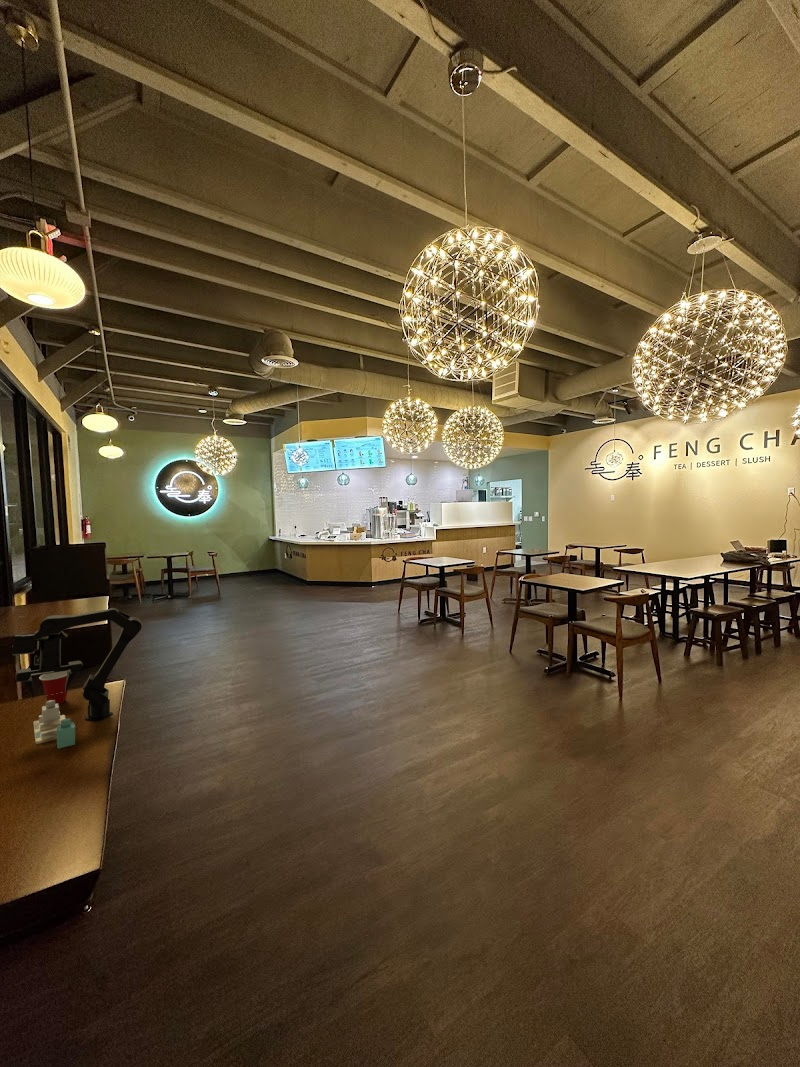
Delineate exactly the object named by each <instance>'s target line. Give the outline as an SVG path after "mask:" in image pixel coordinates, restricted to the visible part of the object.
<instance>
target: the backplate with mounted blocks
mask: <svg viewBox="0 0 800 1067" xmlns="http://www.w3.org/2000/svg"><path fill="white" fill-rule="evenodd" d="M64 719H67V718H66V715H65V714H62V715H61V712H60V710H59V719H58V720H54V721H49V722H45V723H42V714H40V715H38V719H37V720H34V721H32V724H33V732H34V740H35V741H34V742H35V745H39V744H43V743H46V742H47V743H48V742H52V741H57V726H58V725H61V721H62V720H64Z"/></svg>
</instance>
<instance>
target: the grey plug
mask: <svg viewBox="0 0 800 1067" xmlns="http://www.w3.org/2000/svg"><path fill="white" fill-rule="evenodd" d="M59 711H60V706H59V704H58V703H57V704H55V700H49V701H47V700H46V702H45V705H43V706H41V715H42V723H45V722H49V721H54V720H58V719H59Z"/></svg>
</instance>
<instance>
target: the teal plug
mask: <svg viewBox="0 0 800 1067" xmlns="http://www.w3.org/2000/svg"><path fill="white" fill-rule="evenodd" d="M73 745H74V746H75V745H76V725H75V722H74V721H72V719H71V718H66V719H64V720H62V721H61V725H58V726H57V739H56V746H57V749H61V748H67V747H70V746H73Z"/></svg>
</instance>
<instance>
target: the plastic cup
mask: <svg viewBox="0 0 800 1067" xmlns="http://www.w3.org/2000/svg"><path fill="white" fill-rule="evenodd" d="M38 679H39V680H40V681H41V684H42V685H43V692H44V694H45V695H48V696H45V698H46V699H45V700H46V702H47V701H49V700H55V704H57V703H58V705H60V704H63V703H64V701H65V702H66V699H67V695H68V692H69V689H68V690H67V691H68V692H65V685H66V679H67V671H61V672H55V673H49V674H42V675H39V677H38ZM60 692H63V693H60ZM56 693H58V694H56ZM51 694H54V695H51Z"/></svg>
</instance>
